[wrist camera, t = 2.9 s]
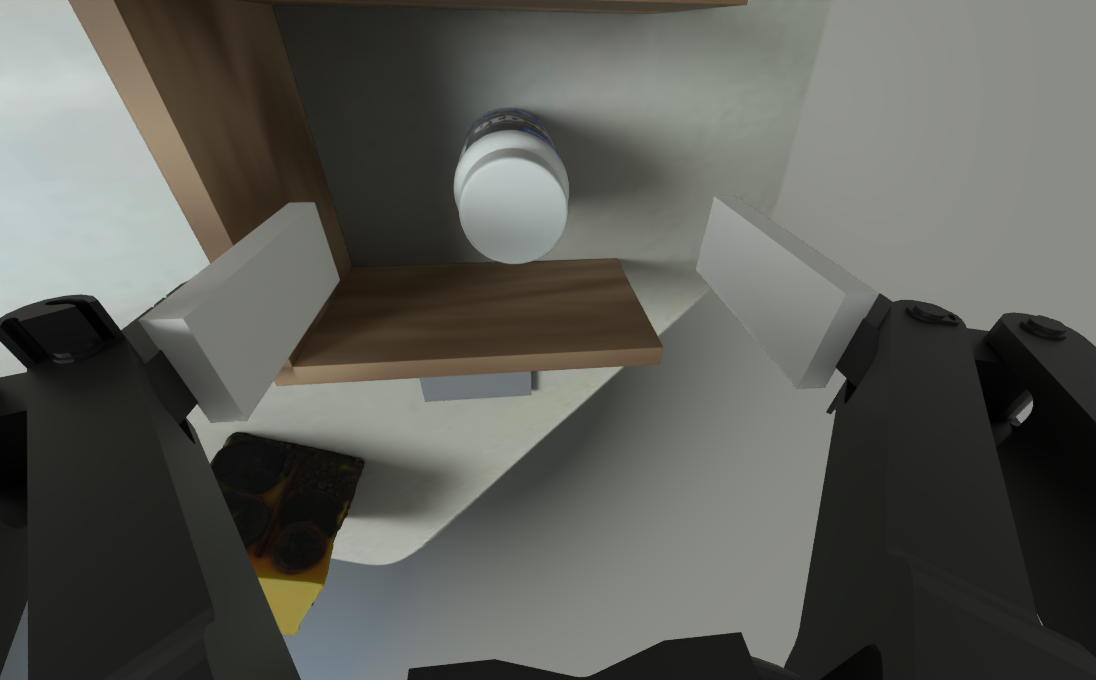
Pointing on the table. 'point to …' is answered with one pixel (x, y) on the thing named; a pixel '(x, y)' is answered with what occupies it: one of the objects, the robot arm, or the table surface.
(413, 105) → the table surface
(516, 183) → the pill bottle
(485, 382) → the slate coaster
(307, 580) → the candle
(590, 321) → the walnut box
